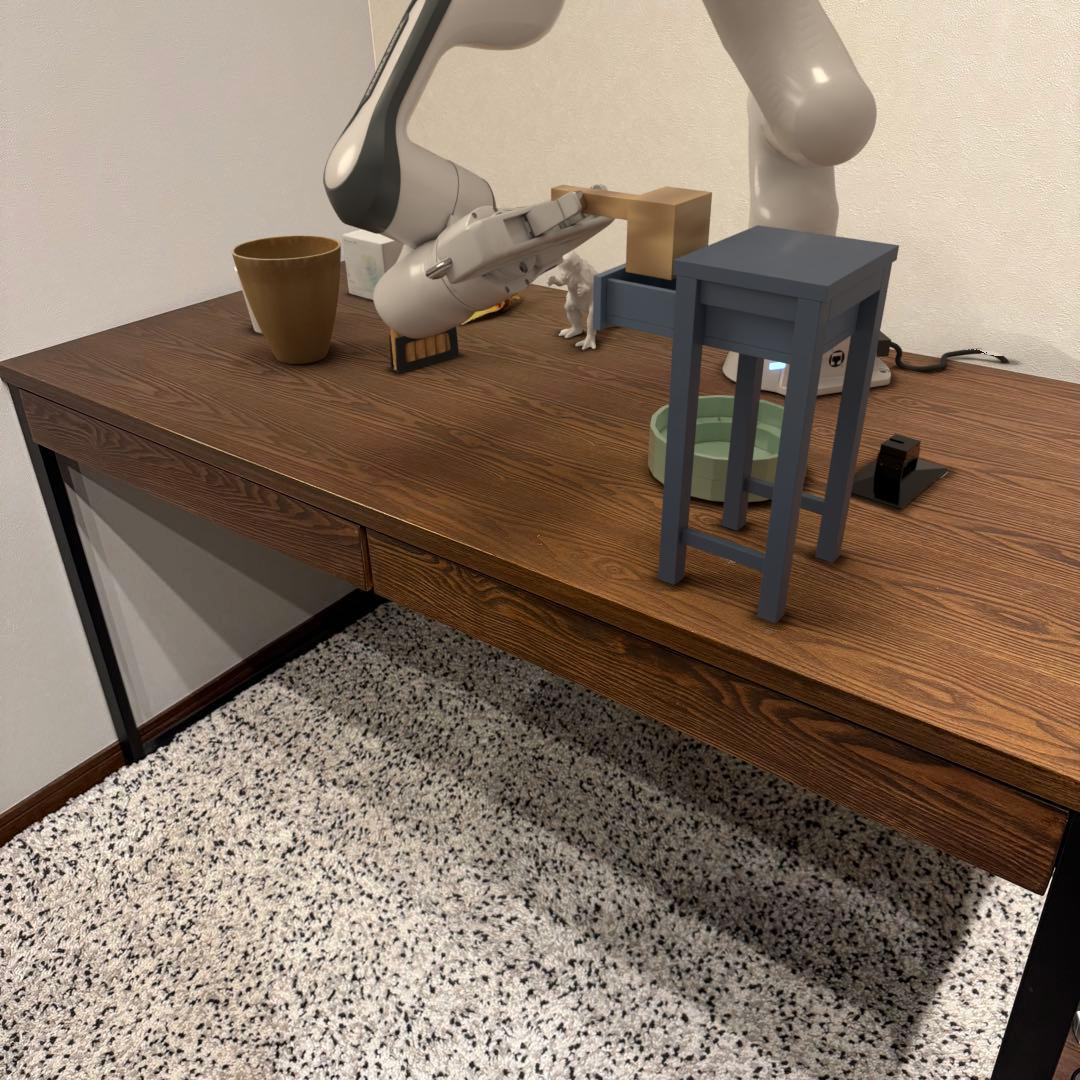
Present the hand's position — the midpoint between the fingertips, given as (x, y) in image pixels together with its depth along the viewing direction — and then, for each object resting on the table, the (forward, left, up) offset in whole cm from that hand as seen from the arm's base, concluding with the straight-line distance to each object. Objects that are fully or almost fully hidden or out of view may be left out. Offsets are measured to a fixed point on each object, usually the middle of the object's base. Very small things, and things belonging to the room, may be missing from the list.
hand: (591, 196), depth 83 cm
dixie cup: (+40, -66, -32) cm, 83 cm away
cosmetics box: (+23, -81, -32) cm, 90 cm away
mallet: (-2, +2, -5) cm, 6 cm away
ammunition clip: (+16, -46, -32) cm, 58 cm away
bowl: (-17, -6, -31) cm, 36 cm away
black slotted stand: (-34, -1, -32) cm, 47 cm away
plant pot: (+34, -52, -32) cm, 70 cm away
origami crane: (+4, -69, -32) cm, 76 cm away
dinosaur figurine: (-10, -54, -32) cm, 64 cm away
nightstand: (-10, +10, -31) cm, 34 cm away
